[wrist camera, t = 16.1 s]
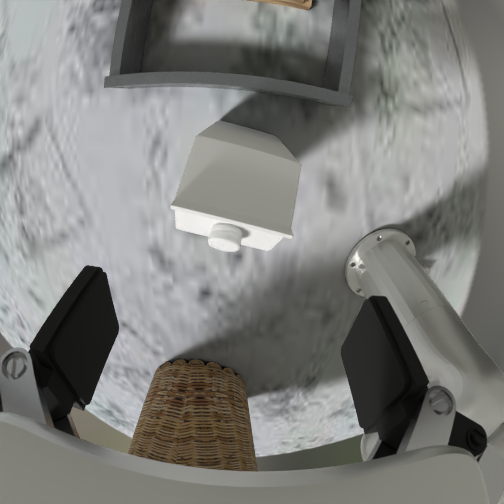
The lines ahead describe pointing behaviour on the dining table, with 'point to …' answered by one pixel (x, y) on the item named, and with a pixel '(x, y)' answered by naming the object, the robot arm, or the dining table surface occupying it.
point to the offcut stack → (290, 3)
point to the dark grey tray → (130, 62)
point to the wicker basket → (196, 418)
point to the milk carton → (238, 188)
